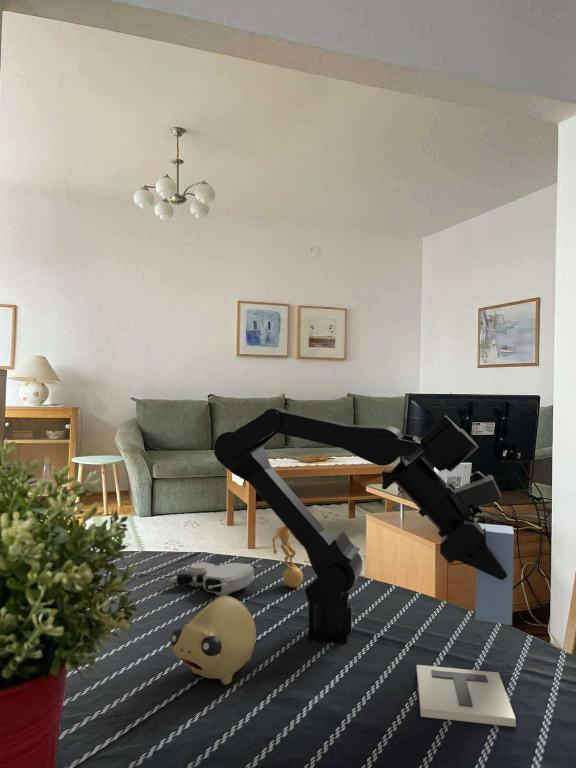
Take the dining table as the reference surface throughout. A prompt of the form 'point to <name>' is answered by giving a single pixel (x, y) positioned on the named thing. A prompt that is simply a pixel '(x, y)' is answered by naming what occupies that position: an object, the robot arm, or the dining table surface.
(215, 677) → the beige rounded figure
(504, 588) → the slate post
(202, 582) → the robot toy
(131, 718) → the dining table surface
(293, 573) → the figurine
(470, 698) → the letter card
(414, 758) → the dining table surface
